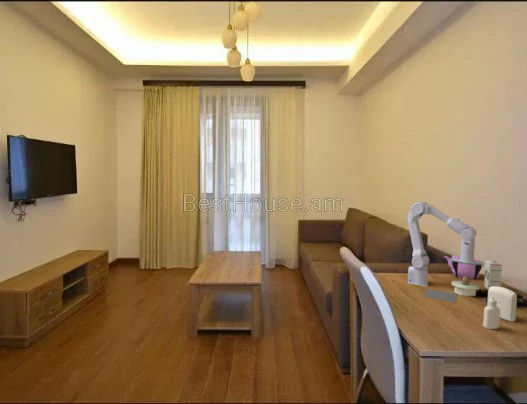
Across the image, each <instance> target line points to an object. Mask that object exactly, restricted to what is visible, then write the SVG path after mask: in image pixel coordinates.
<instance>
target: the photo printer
mask: <svg viewBox="0 0 527 404" xmlns="http://www.w3.org/2000/svg"><path fill="white" fill-rule="evenodd" d="M487 291H488V292H487V304H486V306H489V300H490V299H492V297H494V299H495V300H496V301H497V305H496V307H498V308H500V319H502V320H506V321H509V322H511V323H512V322H515V321H516V319H517V303H518V301H517V300H518V295H517V293H516V292H514V291H513V290H511V289H508V288H506V287H503V286H501V287H497V286H493V287H490V288H489V290H488V289H487Z"/></svg>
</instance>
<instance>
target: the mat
mask: <svg viewBox="0 0 527 404" xmlns="http://www.w3.org/2000/svg"><path fill="white" fill-rule="evenodd" d="M457 295H458V294H457V293H455V292H454V293H453V292H452V293H451V292H446V291H441V290H435V289H430V288H429V289H428V288H426V290H425V293H424V296H423V297H424V298H427V299H434V300H440V301H445V302H451V303H456V302H457Z"/></svg>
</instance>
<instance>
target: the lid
mask: <svg viewBox="0 0 527 404" xmlns="http://www.w3.org/2000/svg"><path fill="white" fill-rule="evenodd" d="M450 285H451V286H453V288H455V287H457V288H460V289H465V290H476V291H479V290H480V287H481V286H480V285H479V284H477V283H474V282H471V281H470V279H469V276H462V278H461V280H453V281H451V283H450Z"/></svg>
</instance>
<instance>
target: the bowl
mask: <svg viewBox="0 0 527 404" xmlns="http://www.w3.org/2000/svg"><path fill="white" fill-rule="evenodd" d="M454 294H457V295H459V296H465V297H466V296H467V297H475V296H476V294H477V290H465V289H460V288H457V287H454Z"/></svg>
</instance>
